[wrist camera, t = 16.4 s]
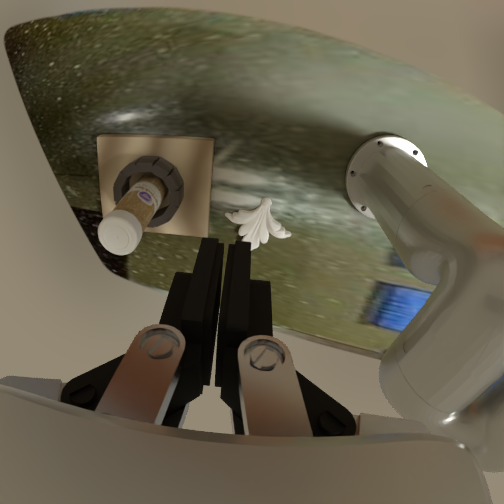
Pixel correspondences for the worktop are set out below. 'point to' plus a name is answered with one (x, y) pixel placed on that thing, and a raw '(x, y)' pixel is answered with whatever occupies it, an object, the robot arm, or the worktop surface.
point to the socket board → (177, 154)
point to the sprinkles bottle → (132, 215)
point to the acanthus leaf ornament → (258, 224)
